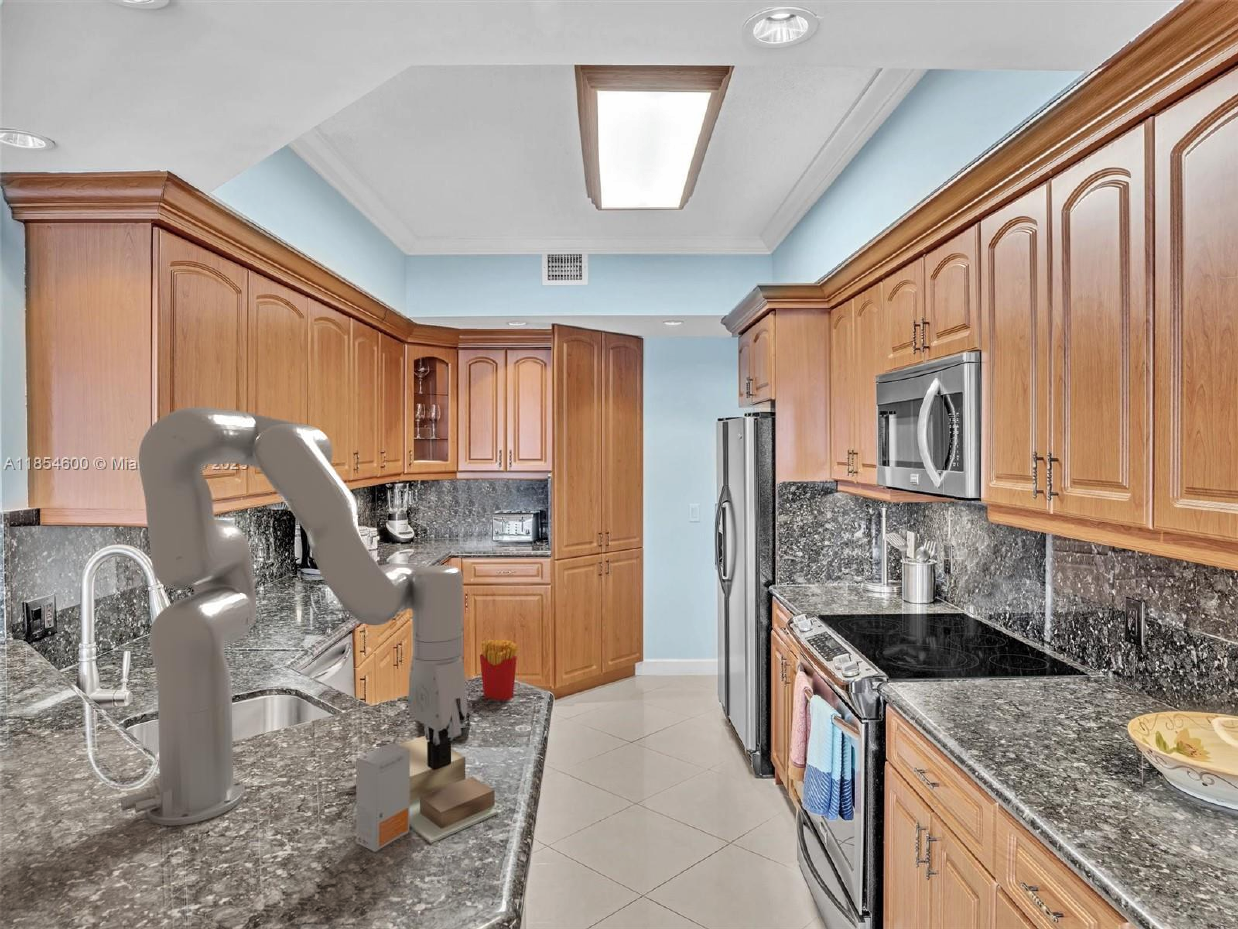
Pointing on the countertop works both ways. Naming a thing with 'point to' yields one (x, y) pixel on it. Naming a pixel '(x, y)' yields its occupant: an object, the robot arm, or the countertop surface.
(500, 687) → the french fries
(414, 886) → the countertop surface
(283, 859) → the countertop surface
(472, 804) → the walnut block
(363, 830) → the skincare box
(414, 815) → the mat
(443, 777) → the platform
